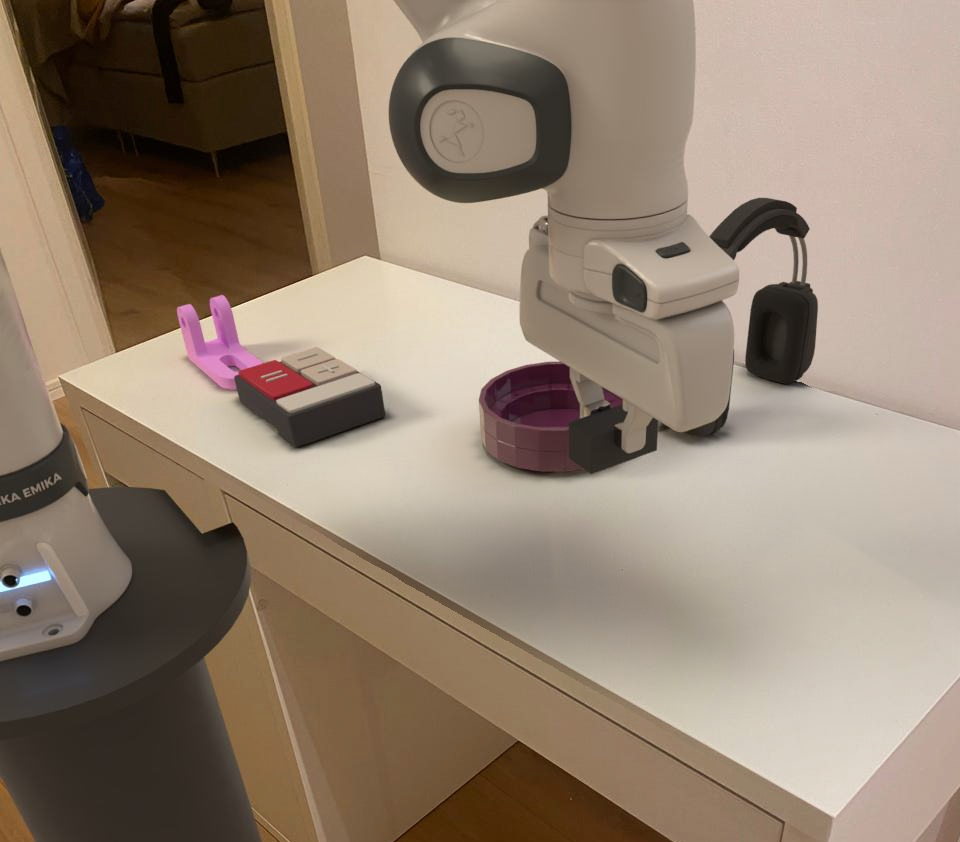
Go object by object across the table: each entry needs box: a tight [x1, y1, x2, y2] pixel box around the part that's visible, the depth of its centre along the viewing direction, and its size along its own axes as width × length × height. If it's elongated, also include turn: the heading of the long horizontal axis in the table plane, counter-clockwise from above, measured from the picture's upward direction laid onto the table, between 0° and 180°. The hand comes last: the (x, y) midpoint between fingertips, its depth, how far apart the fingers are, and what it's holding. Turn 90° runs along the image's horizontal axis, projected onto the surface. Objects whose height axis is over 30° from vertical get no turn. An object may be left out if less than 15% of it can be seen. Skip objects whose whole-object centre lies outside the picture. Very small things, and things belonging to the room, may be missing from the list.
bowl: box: [478, 361, 623, 472], centre depth 99 cm, size 15×15×5 cm
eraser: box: [569, 404, 659, 475], centre depth 73 cm, size 6×3×3 cm, turn 120°
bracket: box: [176, 294, 263, 391], centre depth 117 cm, size 13×6×7 cm, turn 34°
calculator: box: [234, 346, 386, 448], centre depth 109 cm, size 11×4×15 cm
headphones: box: [658, 197, 819, 438], centre depth 99 cm, size 22×6×20 cm, turn 135°
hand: (612, 436), depth 73 cm, fingers closed on eraser, 3 cm apart
